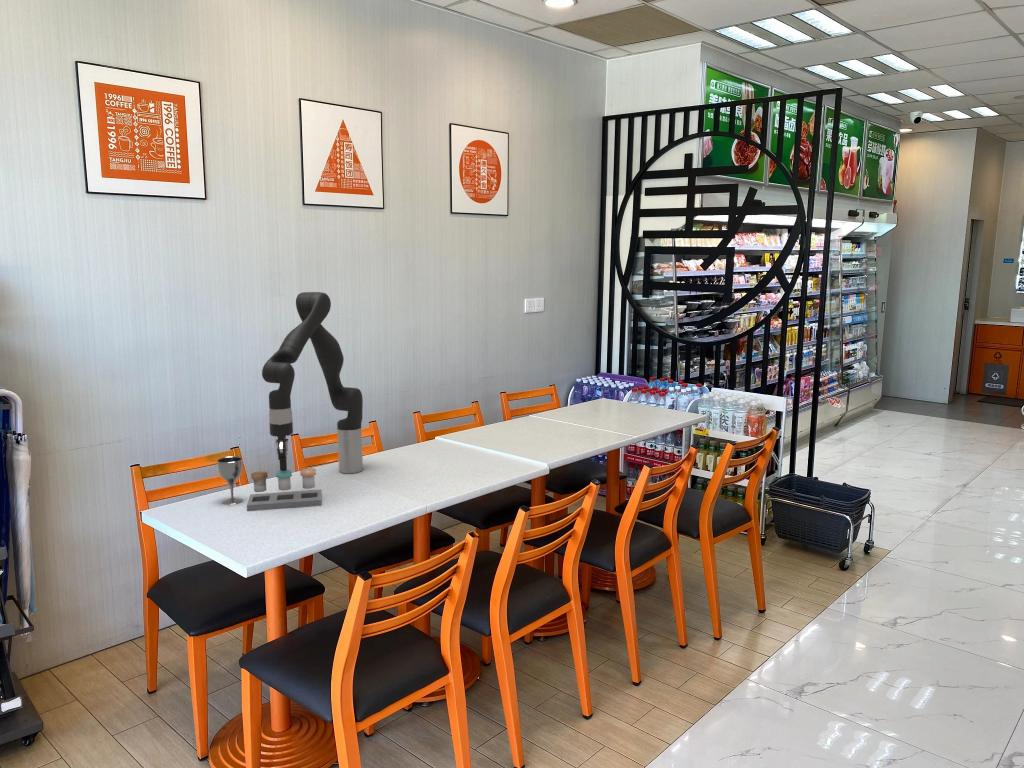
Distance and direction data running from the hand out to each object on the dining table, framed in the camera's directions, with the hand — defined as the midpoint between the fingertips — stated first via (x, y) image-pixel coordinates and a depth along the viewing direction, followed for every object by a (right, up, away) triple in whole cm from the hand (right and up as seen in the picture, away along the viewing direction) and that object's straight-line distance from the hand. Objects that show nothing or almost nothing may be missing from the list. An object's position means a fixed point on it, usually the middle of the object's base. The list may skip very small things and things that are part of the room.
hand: (283, 470), depth 263 cm
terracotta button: (+8, -6, +3) cm, 10 cm away
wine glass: (-19, -11, +4) cm, 22 cm away
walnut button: (-8, -7, -1) cm, 10 cm away
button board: (0, -11, +2) cm, 12 cm away
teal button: (0, -6, +1) cm, 6 cm away
